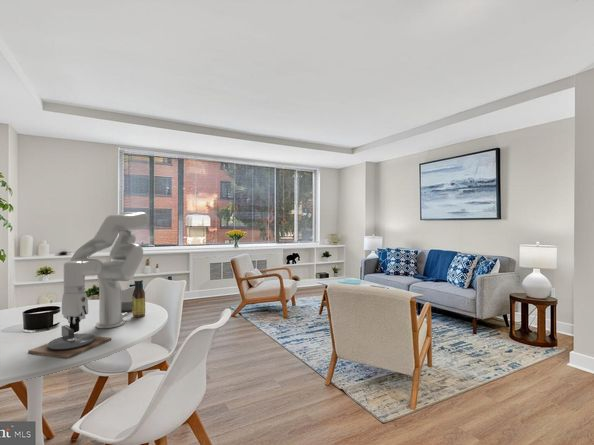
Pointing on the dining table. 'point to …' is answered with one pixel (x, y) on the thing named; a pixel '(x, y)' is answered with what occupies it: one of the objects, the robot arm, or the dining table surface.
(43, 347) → the dial base plate
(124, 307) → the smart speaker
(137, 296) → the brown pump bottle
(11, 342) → the dining table surface
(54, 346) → the dial
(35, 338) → the dining table surface
